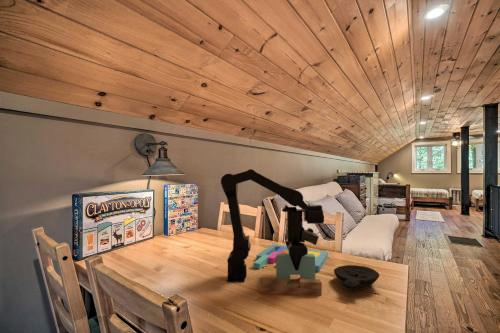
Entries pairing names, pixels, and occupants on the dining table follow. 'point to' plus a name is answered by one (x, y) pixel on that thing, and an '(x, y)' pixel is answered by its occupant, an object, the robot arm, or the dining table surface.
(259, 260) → the tetris game
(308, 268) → the teal plate
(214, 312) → the dining table surface
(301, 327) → the dining table surface
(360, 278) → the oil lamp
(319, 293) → the walnut rail
